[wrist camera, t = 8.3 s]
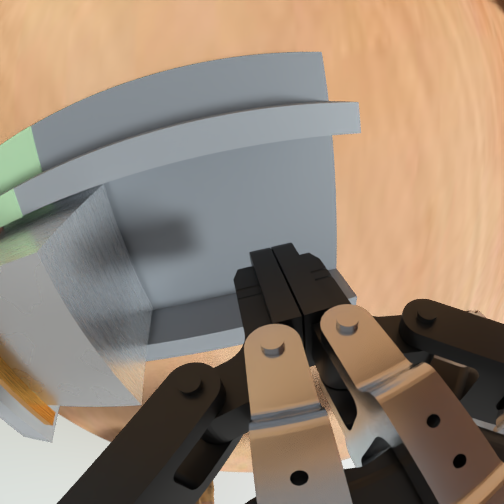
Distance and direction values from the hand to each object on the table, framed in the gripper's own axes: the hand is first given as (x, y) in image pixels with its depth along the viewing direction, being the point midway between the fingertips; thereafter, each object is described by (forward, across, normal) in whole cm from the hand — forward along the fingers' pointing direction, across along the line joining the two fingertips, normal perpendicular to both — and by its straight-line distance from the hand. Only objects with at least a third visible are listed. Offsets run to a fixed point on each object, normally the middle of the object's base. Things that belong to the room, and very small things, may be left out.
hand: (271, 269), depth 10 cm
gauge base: (+5, +7, 0) cm, 8 cm away
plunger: (+3, +9, 0) cm, 10 cm away
